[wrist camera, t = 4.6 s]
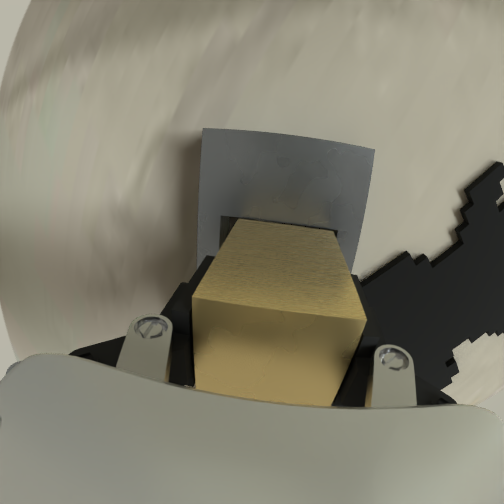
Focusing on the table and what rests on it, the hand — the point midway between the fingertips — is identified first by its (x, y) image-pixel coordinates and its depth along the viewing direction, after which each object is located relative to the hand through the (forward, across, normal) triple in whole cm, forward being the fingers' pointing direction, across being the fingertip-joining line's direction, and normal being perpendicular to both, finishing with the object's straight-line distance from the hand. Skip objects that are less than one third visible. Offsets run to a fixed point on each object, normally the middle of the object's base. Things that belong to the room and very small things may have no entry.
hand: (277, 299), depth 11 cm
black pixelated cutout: (+6, -15, +2) cm, 16 cm away
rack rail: (+6, 0, +4) cm, 7 cm away
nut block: (+3, 0, 0) cm, 3 cm away
